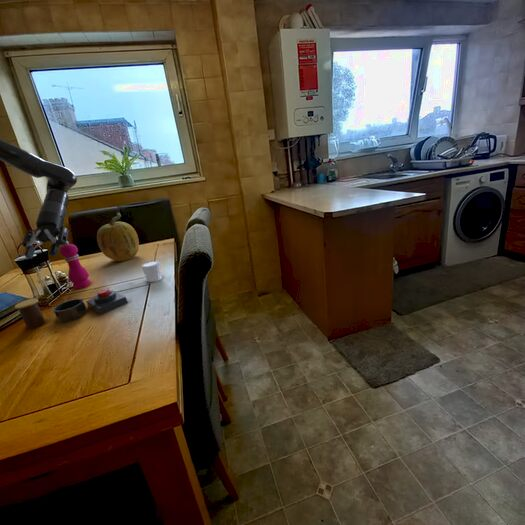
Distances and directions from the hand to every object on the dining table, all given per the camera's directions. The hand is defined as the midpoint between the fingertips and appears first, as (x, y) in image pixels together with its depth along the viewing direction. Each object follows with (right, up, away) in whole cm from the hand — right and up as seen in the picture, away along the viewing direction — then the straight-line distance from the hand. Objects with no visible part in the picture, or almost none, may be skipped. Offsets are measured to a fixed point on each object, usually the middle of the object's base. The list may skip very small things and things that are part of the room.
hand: (40, 256), depth 94 cm
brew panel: (+21, -17, +3) cm, 27 cm away
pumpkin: (+1, 0, +55) cm, 55 cm away
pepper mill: (-2, -12, +24) cm, 27 cm away
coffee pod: (+2, -22, -4) cm, 23 cm away
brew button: (+20, -14, +2) cm, 25 cm away
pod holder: (+12, -20, -1) cm, 23 cm away
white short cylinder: (+30, -9, +21) cm, 38 cm away
